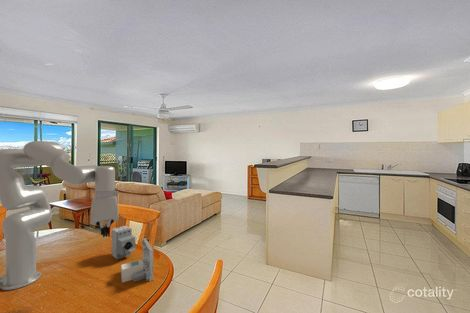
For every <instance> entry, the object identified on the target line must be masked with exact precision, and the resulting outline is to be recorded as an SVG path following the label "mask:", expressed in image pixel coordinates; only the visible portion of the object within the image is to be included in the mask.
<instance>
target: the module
mask: <svg viewBox="0 0 470 313" xmlns="http://www.w3.org/2000/svg"><path fill="white" fill-rule="evenodd" d="M142 260H143V259H138V260H135V261H130V262H126V263H123V264H121V265H120V268H121V270H120V272H121V273H120V278H121V283H125V282H129V281H130V282H131V281H133V274H136V273H140V272H143V271H144V264H143V261H142Z"/></svg>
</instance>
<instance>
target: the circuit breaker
mask: <svg viewBox="0 0 470 313" xmlns="http://www.w3.org/2000/svg"><path fill="white" fill-rule="evenodd" d="M132 230H133V229H132V228H131V227H129V226H127V225H122V226H119V227H115V228H112V229H111V232H110V233H111V235H110V236H111V251H110V252H111V256H112V257H113V258H115V259H116V260H120V259H122V258H125V256H126V257H129V256H131V255H132V252H134V251H136V237H135V236H134V235H132V232H133V231H132ZM124 255H125V256H124Z"/></svg>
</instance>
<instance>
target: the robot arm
mask: <svg viewBox="0 0 470 313" xmlns="http://www.w3.org/2000/svg"><path fill="white" fill-rule="evenodd" d="M70 159H71V158H70V154H69V153H67V152H66V151H65V149H64V147H63V145H61V143H58V142H57V141H47V140H34V141H30V142H27V143H26V144H24V145H23V149H22V148H5V149H4V148H3V149H0V204H1V207H2V208H3V209H4V210H6V211H14V210H15V211H16V210H20V209H24V208H28V207H29V209H25V210H22V211H18V212H15V213H11V214H9V215H7V217H5V218H4V219H3V220H2V222H1V229H2V234H3V236H4V243H5V247H4V248H5V274H3V275H1V276H0V289H1V290H3V291H12V290H16V289H21V288H23V287H25V286H29V285H31V284H33V283H34V282H36V281H37V280H39V279H40V278H41V275H42V273H41V271H38V270H37V240H36V236H35V235H34V234H33V233H32V232H31V231H33V230H35V229H38V228H40V227H44V226H46V225H48V224H49V223H50V222H51V221H52V218H53V213H52V212H53V211H52V207H51V204H50V200H49V197H48V194H47V191H46V190H45V189H44V188H43V187H42V186H38V185H30V186H26V184H25V180H24V177H23V176H22V175H21V173H19V172H18V171H17V170H15V169H16V168H17V169H19V168H32V167H33V168H36V167H39V166H42V165H44V166H46V167H48V168H50V169H51V171H52V173H53V175H54V176H55V177H56V178H58V179H60V180H61V181H64V182H66V183H68V184H71V185H76V186H77V185H85V184H88V183H89V184H90V183H94V197H92V200H91V210H90V223H89V225H91V226H92V225H93V226H98V227H99V228H100V235H101V236H102V237H103V238H105V237H108V234H110V227H111V225H113V223H115V222H118V221H119V220H120V218H119V202H118V197H117V194H119V193H120V191H119V190H116V167H114V166H110V165H108V166H105V165H103V166H101V165H100V166H99V165H94V164H93V165H79V166H76V165H74V164H72V163H69V162H70ZM105 221H106V224H104V222H105Z"/></svg>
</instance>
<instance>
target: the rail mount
mask: <svg viewBox="0 0 470 313" xmlns="http://www.w3.org/2000/svg"><path fill="white" fill-rule="evenodd" d="M141 260H142V261H143V264H144V271H143V272H140V273H136V274H133V280H132V282H133V283H135V282H139V281H143V280H145V281H146V282H147V281H148V282H152V281H154V249H153V248H152V246H151V244H150V242H149V241H148V239H147V237H146V238H142V259H141Z"/></svg>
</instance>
